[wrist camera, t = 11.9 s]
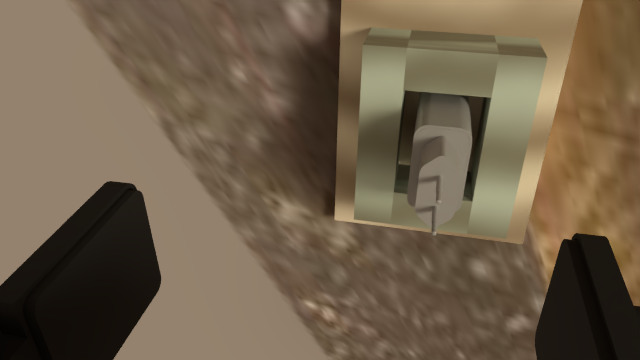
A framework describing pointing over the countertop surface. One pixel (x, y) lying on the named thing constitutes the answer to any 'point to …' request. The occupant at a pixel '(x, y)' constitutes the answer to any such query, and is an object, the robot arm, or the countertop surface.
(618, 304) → the robot arm
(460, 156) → the power adapter
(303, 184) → the countertop surface
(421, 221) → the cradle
